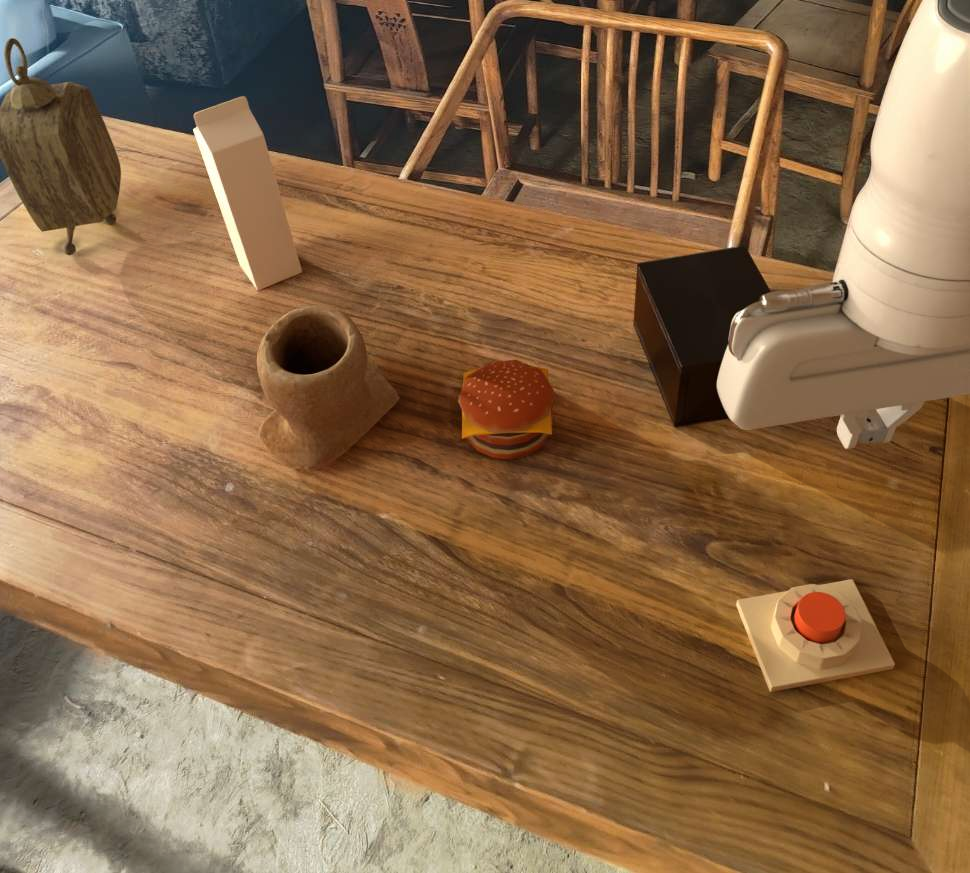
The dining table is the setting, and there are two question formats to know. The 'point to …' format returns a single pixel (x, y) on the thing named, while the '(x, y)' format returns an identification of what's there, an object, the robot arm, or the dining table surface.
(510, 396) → the hamburger
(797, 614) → the button
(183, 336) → the dining table surface
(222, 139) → the milk
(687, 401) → the dark brown box
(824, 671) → the button base
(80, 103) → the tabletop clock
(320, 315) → the stone cup
